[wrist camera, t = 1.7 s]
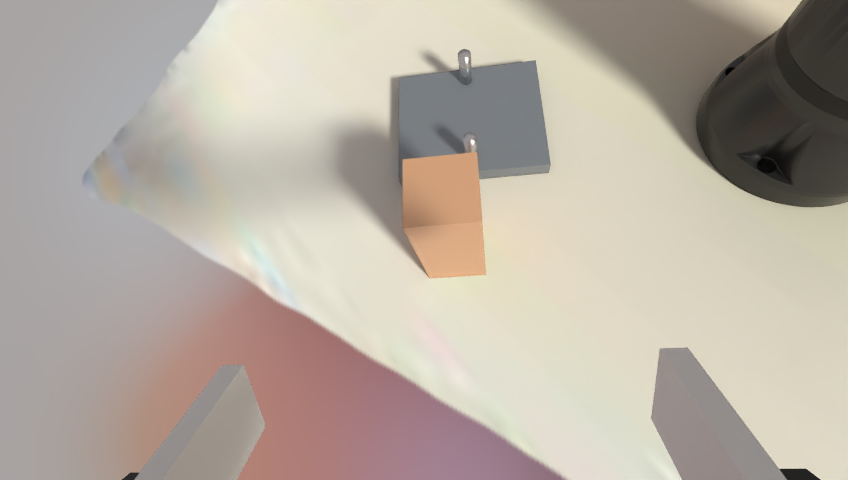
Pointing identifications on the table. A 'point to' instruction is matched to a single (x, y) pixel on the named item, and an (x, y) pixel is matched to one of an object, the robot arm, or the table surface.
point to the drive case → (444, 214)
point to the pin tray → (476, 117)
